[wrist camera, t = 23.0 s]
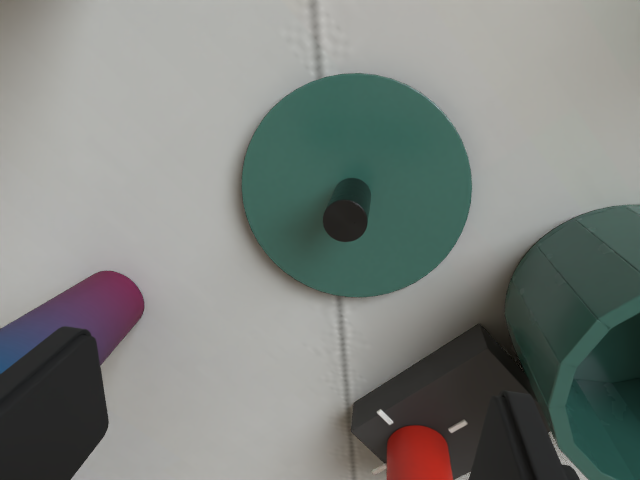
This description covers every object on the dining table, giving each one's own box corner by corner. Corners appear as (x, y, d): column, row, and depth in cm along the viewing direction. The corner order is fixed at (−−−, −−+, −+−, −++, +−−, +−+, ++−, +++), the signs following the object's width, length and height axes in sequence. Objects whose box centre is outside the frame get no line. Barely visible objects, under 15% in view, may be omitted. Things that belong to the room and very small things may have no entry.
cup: (171, 317, 35) (28, 481, 21) (109, 346, 37) (-58, 512, 23) (120, 246, 33) (-71, 373, 19) (58, 280, 35) (-155, 417, 21)
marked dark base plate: (476, 320, 31) (485, 346, 28) (548, 398, 33) (564, 431, 30) (339, 408, 36) (334, 438, 33) (407, 473, 37) (409, 508, 34)
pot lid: (363, 16, 25) (354, 1, 19) (516, 201, 28) (550, 236, 22) (204, 182, 30) (161, 208, 25) (346, 325, 33) (337, 379, 27)
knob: (374, 444, 33) (371, 510, 28) (419, 414, 31) (424, 479, 26) (415, 479, 33) (419, 550, 28) (461, 452, 32) (474, 522, 27)
